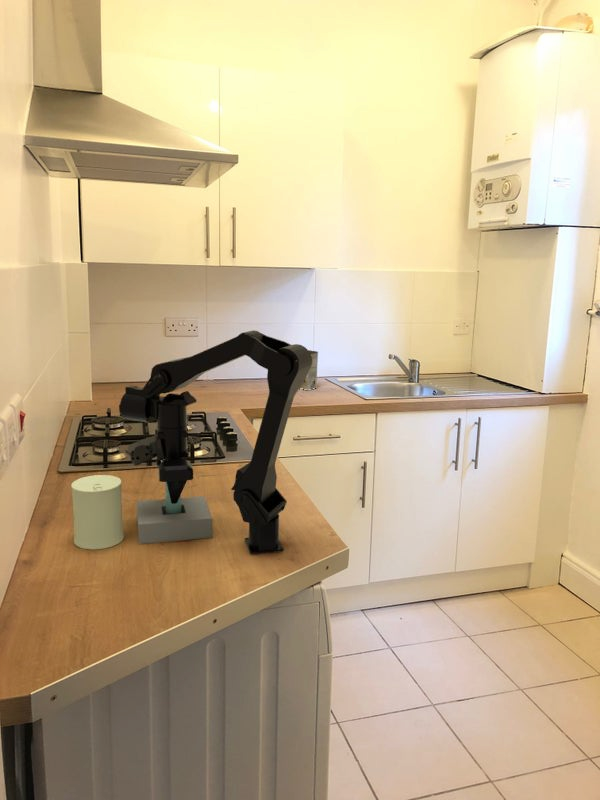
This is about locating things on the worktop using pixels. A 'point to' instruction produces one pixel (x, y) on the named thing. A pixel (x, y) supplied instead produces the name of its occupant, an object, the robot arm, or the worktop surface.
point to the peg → (169, 506)
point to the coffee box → (311, 373)
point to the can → (97, 511)
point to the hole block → (173, 521)
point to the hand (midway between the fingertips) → (173, 500)
